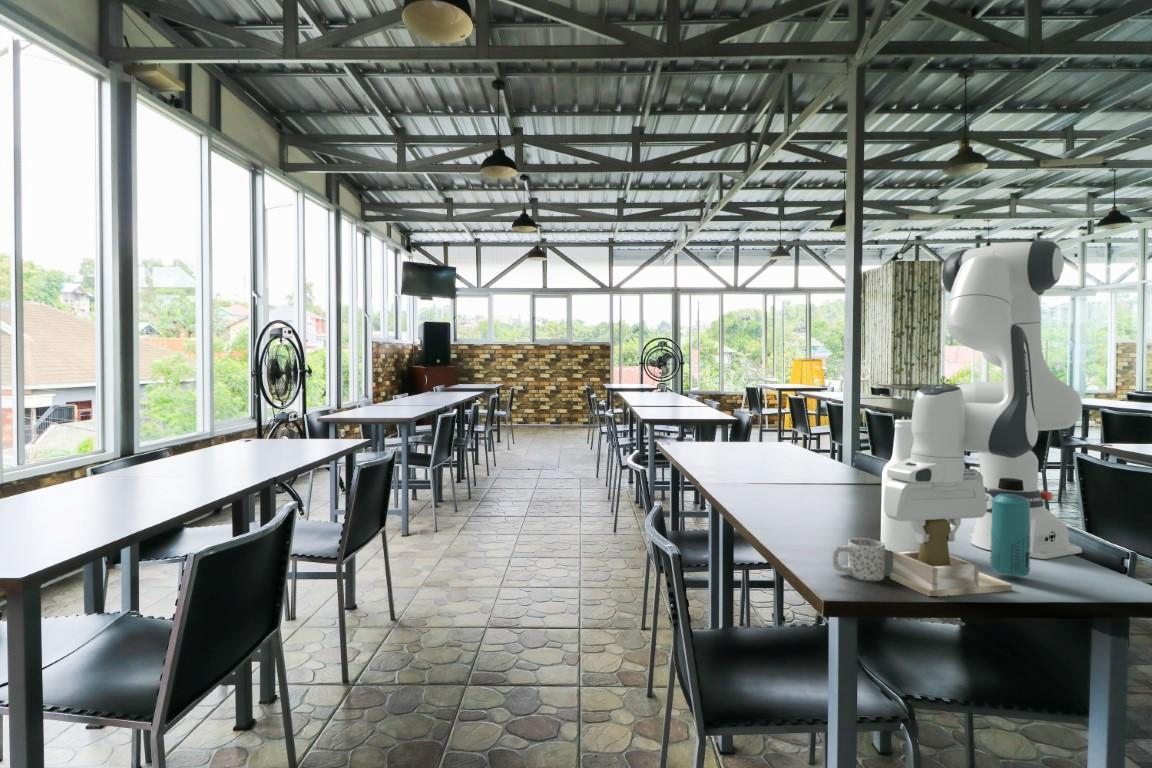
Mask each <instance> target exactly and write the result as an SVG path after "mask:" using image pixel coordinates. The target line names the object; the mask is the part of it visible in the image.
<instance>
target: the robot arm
mask: <svg viewBox="0 0 1152 768" xmlns="http://www.w3.org/2000/svg"><path fill="white" fill-rule="evenodd" d="M1064 267H1065V260H1064V255H1063V253H1062V251H1061V248H1060V246H1059V245H1058V244H1056V243H1055V242H1054V241H1051V240H1039V239H1038V240H1037V239H1036V240H1033V241H1015V242H1014V241H1011V242H1001V243H1000V242H999V243H998V244H994V245H987V246H986V245H985V246H981V247H977V248H976V247H975V248H971V249H966V248H965V249H962V250H961V249H960V250H957V251H955V252H952V253H950V255H948V257H946V258H945V260H944V261H943V265H942V270H941V279H942V285H943V287H944V289H945V290H946V291H947V292H949V293H950V294H949V298H948V303H947V307H946V315H945V327H946V329H947V331H948V334H950V336H951V337H952V339H954V340H955V341H956V342H958V343H959V344H961V345H963V346H965V347H967V348H969V349H971V350H974V351H978V352H981V353H982V356H983V357H984V359H985V360H986V361H988V362H989V364H992V365H994V366H996V367H998V368H1001V369H1002V370H1001V373H1002V381H971V382H965V383H960V384H956V385H954V384H933V385H931V384H930V385H925V386H922V387H920V388H918V389H917V390H916V393H915V396H914V400H913V404H912V412H911V413H912V414H911V420H912V426H911V431H912V434H913V446H912V449H911V458H908V459H906V460H904V461H902V462H899V463H897V464H894V465H892V466H889V467H888V468H887V476H888V477H890V478H892V479H890V480H889V481H888V482H887V484H886V488H885V496H884V511H885V513H886V515H887V516H888V517H889V518H891V519H894V520H897V521H911V525H912V527H913V529H914V531H915V532H916V541H917V542H919V543H929V534H926V533H925V531H924V529H923V526H925V520H937V519H946V520H947V521H948V522H949V524H950V527H951V530H950V533H949V534H948V536H947V541H948V543H951V542H952V543H953V542H955V541H956V539H955V538H956V532H957V531H958V529H959V528H960V526H961V521H962V519H975V520H974V525H973V532H971V533H970V538H971V539H970V543H971V544H972V545H974V546H975V547H978V548H981V549H984V550H987V551H988V550H989V551H991V548H990V545H991V542H990V541H991V539H990V538H991V528H992V499H993V498H994V497H995V496H997V495H998V494H1012V495H1019V496H1023V497H1024V498H1026V499H1027V500H1028V501H1029V502H1030V526H1031V528H1030V537H1031V538H1030V541H1031V542H1030V545H1031V547H1030V551H1031V552H1030V554H1029V558H1035V559H1038V560H1039V559H1040V560H1049V559H1054V558H1059V557H1064V556H1069V555H1076V554H1082V553H1083V549H1082V547H1080V546H1079V545H1076V544H1073V543H1070V539H1069V530H1068V526H1067V525H1066V524H1065V522H1064V521H1062V520H1061V519H1060V518H1059V517H1057V516H1056V515H1055V514H1053V512H1052V511H1050V510H1048V509H1047V508H1046V507H1045V502H1044V501H1043V500H1046V501H1048V502H1051V501H1053V499H1054V493H1053V492H1051V491H1045V490H1042V491H1040V490H1039V489H1038V487H1039V486H1038V482H1039V460H1038V457H1037V455H1036V453H1035V452H1034V451H1032V450H1033V448H1034V447H1036V444H1037V441H1038V436H1039V431H1054V430H1064V429H1065V430H1066V429H1070V428H1071V427H1073V426H1074V425H1075V424H1076V423H1077V421H1079V419H1080V417H1081V415H1082V412H1083V411H1082V410H1083V402H1082V400H1081V399H1082V398H1081V397H1080V395H1079V394H1078V392H1077V391H1076V390H1075V389H1074V388H1073V387H1072V386H1070V385H1068V384H1066V383H1065V382H1063V381H1062V380H1060V378H1058V377H1057V376H1056V375H1055V374H1054V373H1053V372H1052V370H1051V369H1050V368H1049V366H1048V365H1047V363H1046V360H1045V358H1044V353H1043V346H1042V322H1041V321H1042V311H1041V303H1040V301H1041V300H1040V296H1042V295H1043V294H1044V293H1045V291H1048V290H1050V289H1052V288H1053V286H1055V285H1056V284H1057V283H1058V282H1059V281H1060V278H1061V276H1062V273H1063V272H1064ZM965 452H971V453H972V452H973V453H978V458H979V471H978V469H976V468H969V469H966V468H965ZM1000 478H1014V479H1020V480H1022V481H1023V487H1024V490H1023V491H1010V490H1003V489H999V488H998V485H999V479H1000ZM922 525H923V526H922Z"/></svg>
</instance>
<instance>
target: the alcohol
mask: <svg viewBox="0 0 1152 768" xmlns="http://www.w3.org/2000/svg"><path fill="white" fill-rule="evenodd" d="M894 424H895V425H894V428H895V429H894V436H893V445H892V446H893V447H892V453H891V454H892V455H891V458H890V460H889V461H888V462H886V464H885V465H884V466H883V469H882V473H881V504H880V505H881V506H880V507H881V508H880V542H882V543H884V544H885V551H888V552H890V551H891V553H893V552H909V551H919V549H920V543H919V542H917V541H916V532H915V531H914V529H913V527H912V525H911V521H897V520H894V519H891V518H889V517H888V516H887V515H886V513H885V511H884V496H885V488H886V484H887V482H888V481H889V480H890V479H892V478H890V477H888V476H887V468H888V467H889V466H892V465H894V464H897V463H899V462H902V461H904V460H906V459H908V458H911V449H912V446H913V434H912V431H911V426H912V419H895V420H894Z"/></svg>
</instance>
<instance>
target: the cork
mask: <svg viewBox="0 0 1152 768" xmlns="http://www.w3.org/2000/svg"><path fill="white" fill-rule="evenodd" d="M922 526H923V525H922ZM923 529H924V531H925V533H926V534H929V543H920V549H919V554H918V561H921V562H923V563H926V564H928V565H931V566H933V567H934V566H949V565H950V557H949V555H950V552H949V542H948V541H947V536H948V534H949V533H950V530H951V527H950V524H949V522H948V521H947V520H946V519H937V520H925V526H923Z"/></svg>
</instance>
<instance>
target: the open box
mask: <svg viewBox="0 0 1152 768" xmlns="http://www.w3.org/2000/svg"><path fill="white" fill-rule="evenodd" d="M918 554H919V551H909V552H892V571H891V572H890V577H889V578H890V580H893V581H894V582H897V583H899V584H901V585H903V586H905V587H908V588H910V589H912V590H914V591H916V592H918V593H921V594H922V595H924V596H926V595H927V597H928V596H938V597H947V596H948V595H949V596H960V595H962V596H963V595H976V594H986V593H998V592H1000V593H1001V592H1012V590H1013V588H1012V587H1013V584H1011V583H1009V582H1006V581H1004V580H1001V579H998V578H996V577H993V576H992V575H991V576H990V575H988V574H985V573H983V572H980V566H979V565H980V564H976V563H973V562H971V561H967V560H965V559H962V558H960V557H956V556H955V555H951V554H949V557H950V565H949V566H934V567H933V566H931V565H928V564H926V563H923V562H921V561H918ZM949 596H948V597H949Z"/></svg>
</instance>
